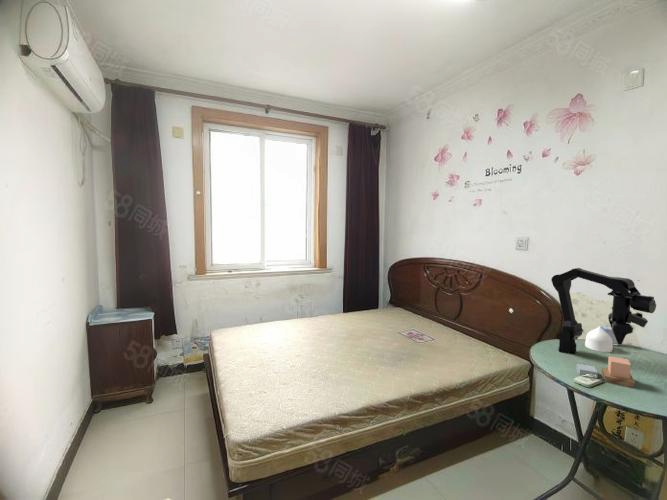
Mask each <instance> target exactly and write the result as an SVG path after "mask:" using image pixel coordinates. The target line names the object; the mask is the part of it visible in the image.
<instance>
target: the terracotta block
mask: <svg viewBox="0 0 667 500" xmlns="http://www.w3.org/2000/svg"><path fill="white" fill-rule="evenodd" d="M607 368H608V371H609V374H610V375H611V376H616V377H621V378H626V379H630V374H631V370H632V369H631V368H632V364H631V363H630V361H629V359H626V358H621V357H616V356H612V355H611V356H608V361H607Z"/></svg>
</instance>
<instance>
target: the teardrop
mask: <svg viewBox="0 0 667 500" xmlns="http://www.w3.org/2000/svg"><path fill="white" fill-rule="evenodd" d="M601 327H602V326H601V325H599V326H597V328H595V329H592V330H589V332H587V334H586V337H585V342H584V346H585V347H586V348H587V349H590V350H593V351H595V352H596V351H597V352H602V353H603V352H604V353H611V352H613V351H614V350H613V348H614V347H613V346H614V345H613V341H612V338H611V337H610V335H609V334H607V333H606V332H605V331H604V330H603V329H602V328H601ZM612 350H613V351H612Z"/></svg>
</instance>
